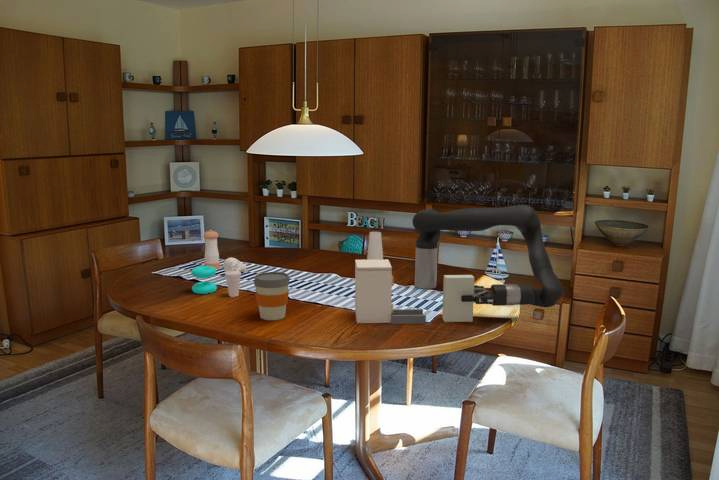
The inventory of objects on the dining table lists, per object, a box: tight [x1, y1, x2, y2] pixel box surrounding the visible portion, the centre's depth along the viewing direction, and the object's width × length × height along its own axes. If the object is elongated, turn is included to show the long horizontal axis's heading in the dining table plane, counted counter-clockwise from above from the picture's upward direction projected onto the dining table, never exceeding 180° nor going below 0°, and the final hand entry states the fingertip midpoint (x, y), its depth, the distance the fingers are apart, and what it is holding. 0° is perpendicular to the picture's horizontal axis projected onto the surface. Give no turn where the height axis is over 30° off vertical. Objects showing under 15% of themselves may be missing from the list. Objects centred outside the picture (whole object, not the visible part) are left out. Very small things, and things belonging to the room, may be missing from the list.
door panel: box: [441, 274, 475, 323], centre depth 211 cm, size 4×10×16 cm, turn 93°
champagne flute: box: [366, 231, 384, 260], centre depth 251 cm, size 7×7×24 cm
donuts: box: [190, 265, 218, 295], centre depth 246 cm, size 10×10×10 cm
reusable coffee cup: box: [253, 271, 290, 321], centre depth 214 cm, size 13×12×15 cm
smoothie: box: [224, 262, 242, 298], centre depth 240 cm, size 6×6×14 cm
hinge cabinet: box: [354, 258, 427, 325], centre depth 212 cm, size 14×24×20 cm, turn 93°
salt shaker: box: [202, 229, 221, 270], centre depth 283 cm, size 7×7×19 cm
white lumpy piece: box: [222, 257, 247, 273], centre depth 274 cm, size 6×8×12 cm
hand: (459, 295), depth 211 cm, fingers open, 7 cm apart
